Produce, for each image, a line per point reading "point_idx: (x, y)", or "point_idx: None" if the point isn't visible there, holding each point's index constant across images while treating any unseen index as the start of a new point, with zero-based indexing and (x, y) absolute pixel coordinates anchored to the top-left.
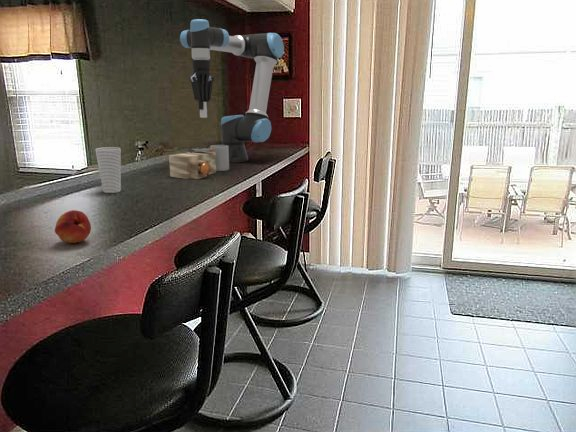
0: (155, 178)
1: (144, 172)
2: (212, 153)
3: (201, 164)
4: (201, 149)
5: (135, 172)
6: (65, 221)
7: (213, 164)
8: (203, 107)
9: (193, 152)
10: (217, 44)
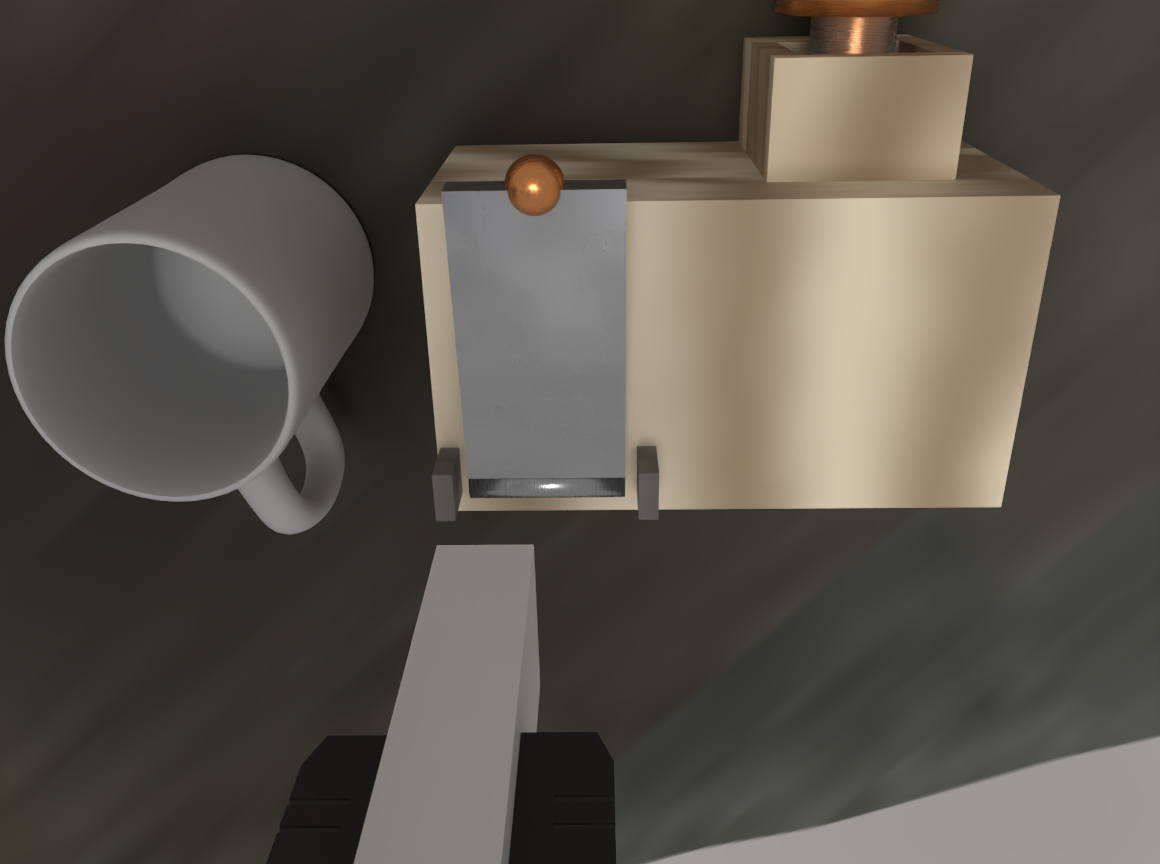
0: (1075, 431)
1: (856, 720)
2: None
3: (920, 1)
4: (625, 315)
5: (895, 772)
6: None
7: (490, 166)
8: (514, 775)
9: None
10: None
